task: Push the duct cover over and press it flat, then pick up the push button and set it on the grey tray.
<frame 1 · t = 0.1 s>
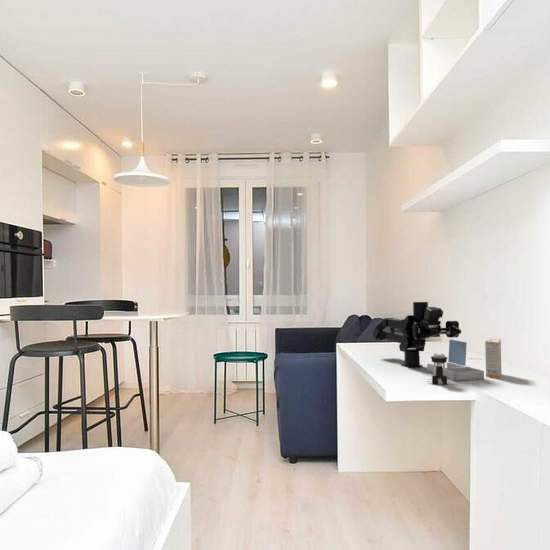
hand: (449, 332, 165), 17 cm above the table, tool horizontal, fingers open, 9 cm apart
push button: (437, 384, 156), on the table
supplement box: (493, 376, 169), on the table
duct cover: (457, 352, 175), point 8 cm above the table, hinge at 95.0°
grey tray: (462, 377, 165), on the table
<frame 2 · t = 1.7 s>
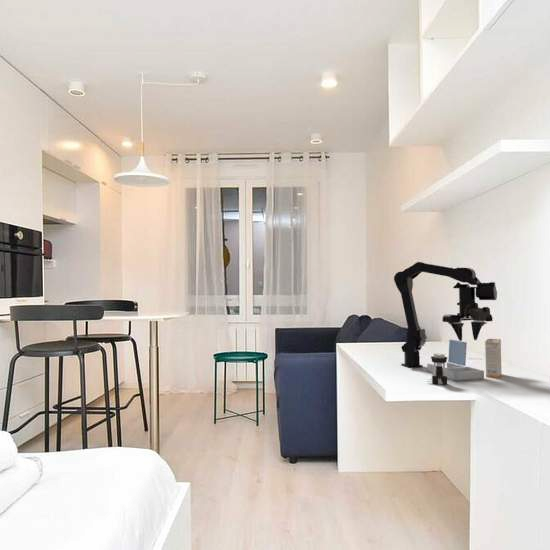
hand: (468, 340, 177), 12 cm above the table, tool pointing down, fingers open, 6 cm apart
nothing on the table moved.
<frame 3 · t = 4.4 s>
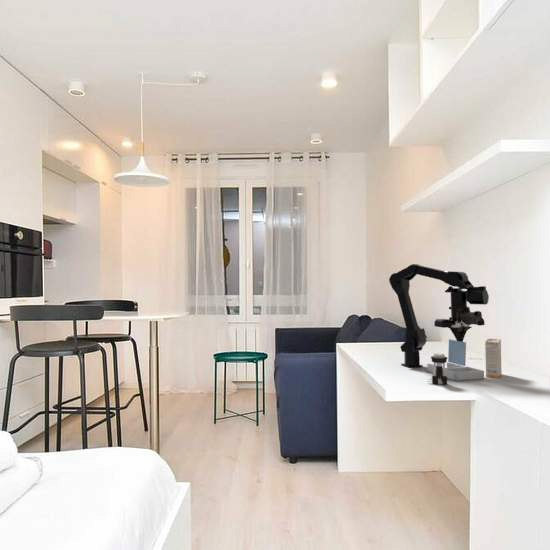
hand: (460, 344, 176), 11 cm above the table, tool pointing down, fingers closed
duct cover: (456, 352, 175), point 8 cm above the table, hinge at 93.0°, touching gripper
everything else where it was.
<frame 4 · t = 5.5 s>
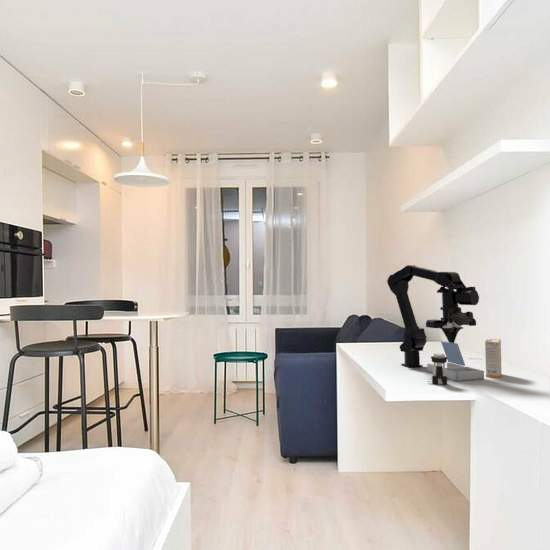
hand: (451, 345, 175), 10 cm above the table, tool pointing down, fingers closed
duct cover: (452, 353, 175), point 8 cm above the table, hinge at 69.0°, touching gripper
everything else where it was.
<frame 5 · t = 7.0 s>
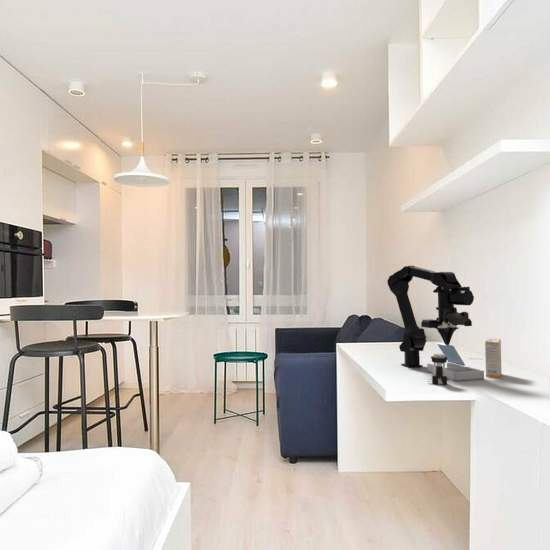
hand: (447, 345, 174), 10 cm above the table, tool pointing down, fingers closed
duct cover: (450, 354, 175), point 7 cm above the table, hinge at 56.3°, touching gripper
everything else where it was.
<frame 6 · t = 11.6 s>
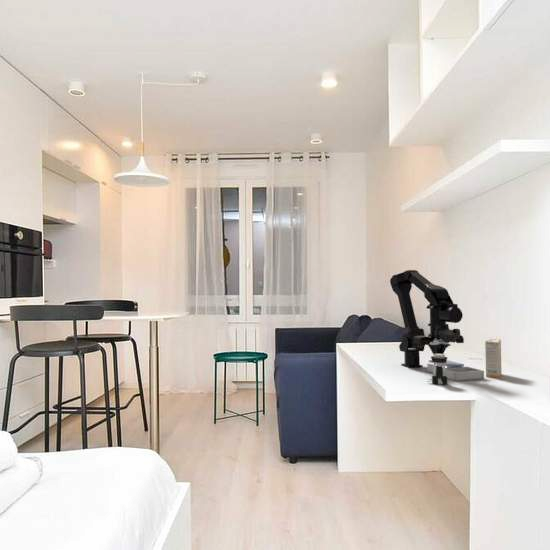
hand: (438, 362, 173), 4 cm above the table, tool pointing down, fingers closed, pressing on duct cover
duct cover: (445, 363, 174), point 4 cm above the table, hinge at 2.9°, touching gripper
everything else where it was.
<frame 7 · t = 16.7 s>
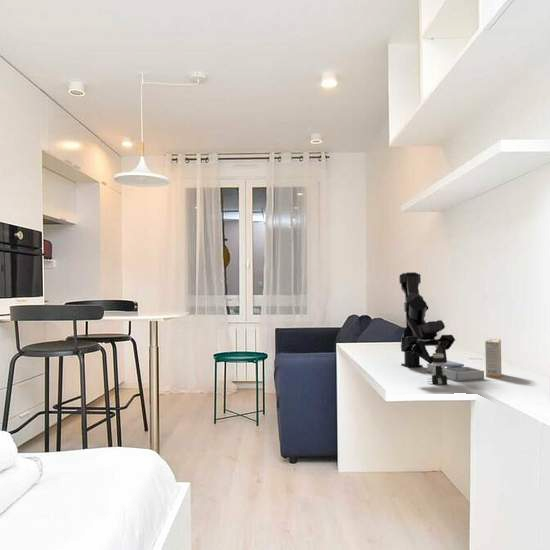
hand: (438, 362, 155), 7 cm above the table, tool tilted 45°, fingers closed on push button, 5 cm apart
push button: (437, 383, 156), on the table, touching gripper
duct cover: (445, 363, 174), point 4 cm above the table, hinge at 1.2°
everything else where it was.
when the fingers open (9 cm above the table, at t = 20.5 s): push button drops 1 cm, resting on grey tray.
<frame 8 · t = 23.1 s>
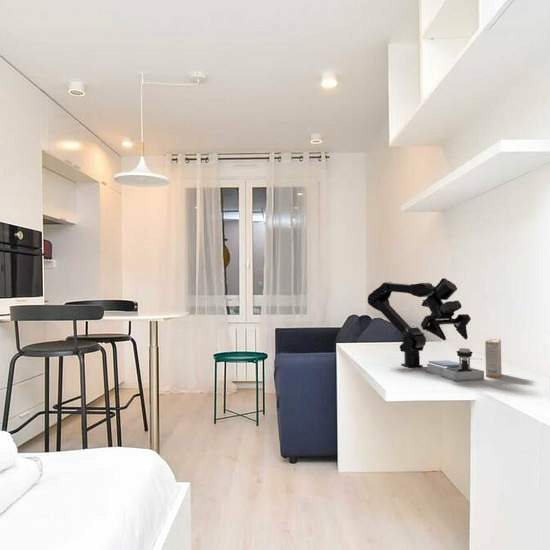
hand: (456, 339, 168), 14 cm above the table, tool tilted 45°, fingers open, 9 cm apart
push button: (462, 377, 164), resting on grey tray
everything else where it was.
at the end: push button 0.6 cm off-centre on the grey tray, point 0.3 cm above the grey tray's base; push button tilted 0°; duct cover at +1° (first picture: +95°) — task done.
